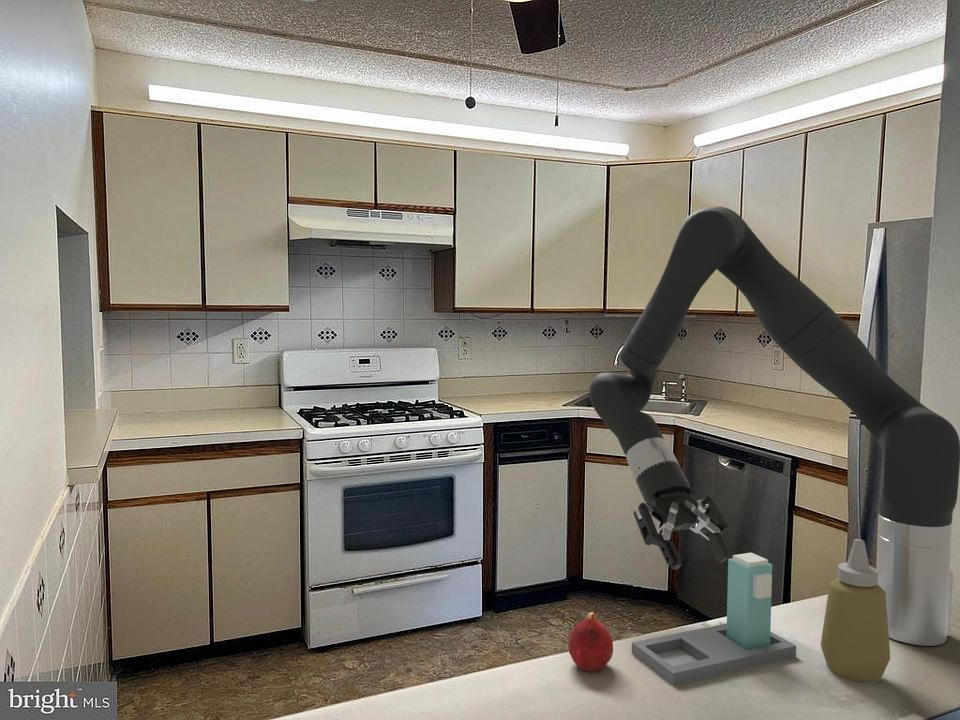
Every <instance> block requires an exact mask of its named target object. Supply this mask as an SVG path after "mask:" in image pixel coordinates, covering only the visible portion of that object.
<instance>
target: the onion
mask: <svg viewBox="0 0 960 720" xmlns="http://www.w3.org/2000/svg"><path fill="white" fill-rule="evenodd" d="M568 652H569V655H570V658H571V659H572V661H573V663H574V664H575V665H576V666H577V667H578V668H580V669H581V670H583V671H584V672H585V671H586V672H592V673H593V672H598V671H600V670H601V669H603V668H604V667H605V666H606V665H607V664H608V663H609V662H610V660H611V659H612V657H613V653H614V641H613V637H612V634H611V632H610V631H609V630H608V628H607V627H606V626H605V625H604V624H603V623H602V622H601V621H599V620H598V619H597V614H595V613H594V612H593V611H591V612H589V613H587V616H586V618H585V619H584V620H582V621H580V622H578V623H577V624H576V625H575V626H574V627H573V629H572V630H571V632H570V635H569V639H568Z"/></svg>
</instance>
